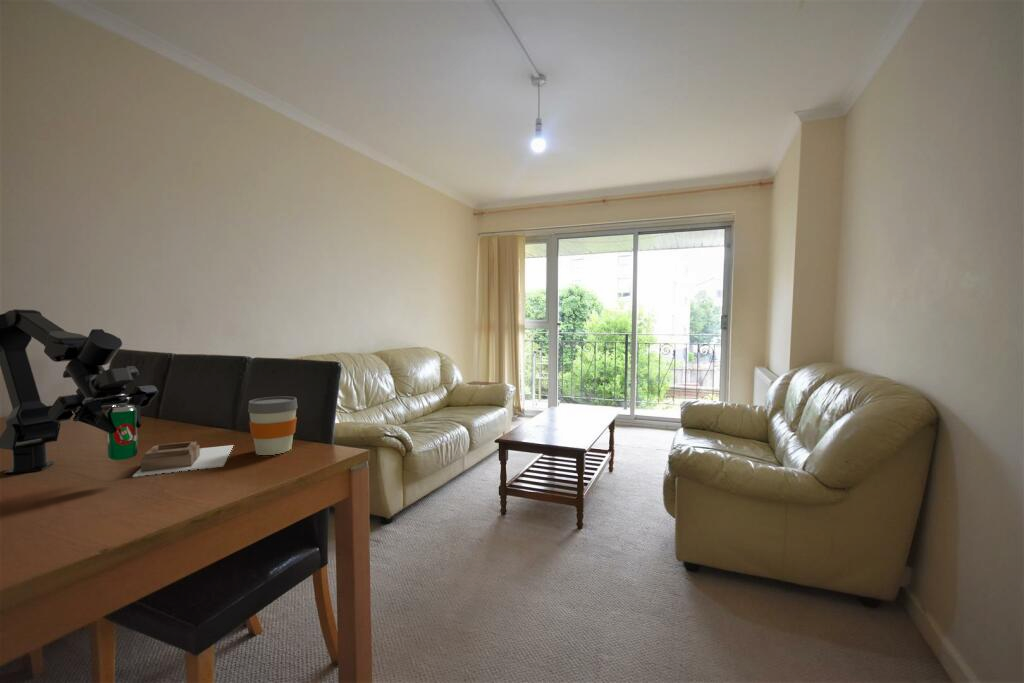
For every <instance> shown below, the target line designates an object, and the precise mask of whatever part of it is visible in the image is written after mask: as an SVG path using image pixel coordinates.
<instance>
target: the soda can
mask: <svg viewBox="0 0 1024 683" xmlns="http://www.w3.org/2000/svg"><path fill="white" fill-rule="evenodd" d="M106 417H107V418H108V419H109V421H110V422H111V424H112V425H113V428H114V430H115V431H114V433H112V434H110V433H108V432H106V436H107V437H106V440H107V441H106V442H107V443H106V444H107V458H108V459H109V460H110V461H124V460H128V459H132V458H134V457H136V456H137V454H138V452H139V451H138V428H137V409H136V408H135V407H134V404H122V405H121V404H118V405H111V406H108V410H107V411H106Z"/></svg>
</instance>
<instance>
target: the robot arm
mask: <svg viewBox="0 0 1024 683" xmlns="http://www.w3.org/2000/svg"><path fill="white" fill-rule="evenodd" d="M32 339H34V340H36V341H38V342H39V343H40V344H42V345H43V346H44V351H43V353H44V354H45V355H46V356H47V357H48V358H50V360H51V361H53V362H55V363H59V362H61V363H62V362H68V363H67V364H66V366H65V369H64V371H63V373H62V378H63V379H67V378H71V379H72V381H73V382H74V384H75V385H76V387H77V389H76V390H75V393H76V394H75V393H74V394H68V395H59V396H58V397H57V398H56V399H55V401H54V403H53V404H52V405H46V404H45V403H44V402H42V400H41V396H40V394H39V389H38V387H37V384H36V380H35V377H34V373H33V370H32V365H31V363H30V360H29V357H28V353H27V347H28V346H29V344H30V342H31V340H32ZM122 346H123V341H122V340H121V338H120V337H117V336H116V335H114V334H112V333H109V332H105V330H104V329H102V328H99V329H97V328H96V329H95V328H93V329H91V330H90V332H89V335H88V336H87V335H83V334H80V333H75V332H69V331H67V330H65V329H63V328H62V327H60V326H59V325H57V324H56V323H54V322H53V321H51V320H49V319H48V318H47V317H45V316H44V315H43V314H42V312H40V311H38V310H36V309H21V308H20V309H17V308H16V309H12V310H8V311H6V312H4V313H1V314H0V369H1V373H2V376H3V381H4V384H5V387H6V390H7V394H8V397H9V400H10V404H11V407H12V410H11V412H10V413H9V415H8V417H7V419H6V420H5V423H6V424H5V425H6V428H5V429H4V431H2V434H1V435H0V449H1V450H8V451H11V459H12V460H11V462H12V468H11V469H9V470H6V471H5V472H4V474H5V473H12V474H20V473H31V472H38V471H43V470H44V469H46V468H48V467H50V466H51V465H54V463H55V461H48V458H47V457H48V455H47V454H48V452H47V443H51V442H58V438H59V434H60V428H61V422H64V421H70V420H71V418H72V417H73V418H72V421H73V422H80V423H84V424H86V425H88V426H92V427H94V428H97V429H99V430H101V431H103V432H106V433H107V432H108V433H110V434H112V433H114V431H115V430H114V428H113V425H112V424H111V422H110V421H109V419H108V418H107V414H105V412H104V411H103V407H104V408H105V407H110V406H114V405H122V404H134V407H135V408H136V409H137V429H140V428H141V427H142V419H141V409H143V408H146V407H149V406H150V405H151V403H152V402H153V401H154V399H155V398H156V396H158V394H159V393H160V391H159V390H158V388H157V387H156V386H155V385H150V384H149V385H148V384H147V385H142V386H135V387H134V388H133V389H132V391H131V392H130V393H127V394H126V393H122V392H124V391H126V389H127V387H126V385H127V384H129V383H132V382H133V381H135V380H137V379H139V378H140V375H141V374H140V372H139V369H138V368H137V367H136V366H135V365H127V366H125V367H121V368H109V369H105V368H104V366H106V365H109V364H110V363H111V362H112V360H113V358H114V357H115V356H116V355H117V353H118V351H119V350H120V348H121V347H122Z"/></svg>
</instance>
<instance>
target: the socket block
mask: <svg viewBox="0 0 1024 683" xmlns="http://www.w3.org/2000/svg"><path fill="white" fill-rule="evenodd" d="M200 445H201V444H198V440H195V441H193V440H191V441H184V442H183V441H182V442H181V441H180V442H173V443H172V442H171V443H163V444H162V443H161V444H154V445H153V446H152V447H151V448H150V449H148V450H147V451H146V452H145V453H143V458H141V459H140V468H141V472H144V471H145V472H146V471H155V470H163V469H172V468H181V467H189V466H192V465H193V464H194V462H195V461H196V460H197V458H198V457H199V456H200Z"/></svg>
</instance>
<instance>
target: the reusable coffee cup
mask: <svg viewBox="0 0 1024 683" xmlns="http://www.w3.org/2000/svg"><path fill="white" fill-rule="evenodd" d="M297 409H298V399H297V397H295V396H286V395H285V396H267V397H259V398H254V399H251V400H249V401H248V408H247V412H248V413H249V421H248V424H249V429H250V435H251V438H252V439H253V443H254V450H255V454H256V455H257V454H258V455H257V456H259V455H274V456H276V455H275V454H280V453H284V452H286V451H289V450H290V449H291V450H292V447H293V438H294V434H295V433H296V428H297V421H298V420H297V419H298V417H297V416H296V415H297ZM289 452H290V451H289ZM284 454H285V453H284ZM280 455H281V454H280Z"/></svg>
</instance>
